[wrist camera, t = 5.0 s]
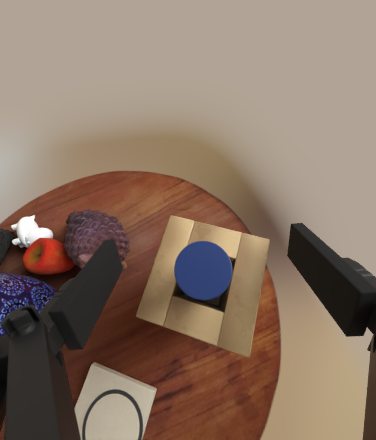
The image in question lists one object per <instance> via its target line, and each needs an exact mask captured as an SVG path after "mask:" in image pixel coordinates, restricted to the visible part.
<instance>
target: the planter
mask: <svg viewBox="0 0 376 440" xmlns="http://www.w3.org/2000/svg"><path fill="white" fill-rule="evenodd" d="M55 293H56V291H55V289H54V288H53V287H52V286H50V285H49V284H48V283H46V282H44V281H42V280H39V279H36V278H32V277H28V276H23V275H18V274H10V273H3V272H0V325H1V322H2V320H3V319H4V318H5V317H6V316H7V315H8V314H10V313H11V312H12V311H14V310H16V309H18V308H20V307H22V306H25V305H34V306H35V308H36V309H37V311H38V313H40V311H41V310H42V309H43V308H44V307H45V305H46V304H47V303H48V302H49V301H50V299H51V298H53V296H54V295H55ZM4 335H7V334H6V332H5V331H4V330H3V328H2V327H1V326H0V337H1V336H4Z"/></svg>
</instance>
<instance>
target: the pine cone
mask: <svg viewBox="0 0 376 440" xmlns="http://www.w3.org/2000/svg"><path fill="white" fill-rule="evenodd" d="M66 223H67V224H68V225H67V226H66V232H67V233H66V234H65V236H64V238H65V244H64V248H65V250H66V251H67V256H68V258H70V259H71V260H72V261H73V263H74V264H75V265H78V266H79V267H80V268H81V269H82V268H83V267H84V266H85V264H86V263H87V262H88V260H89V259H90V258H91V257H92V255H93V254H94V253H95V252H96V250H97V249H98V248H99V247H100V245H101V244H102V243H103V241H104V240H109V239H115V243H116V246H117V249H118V253H119V256H120V259H121V263H122V266H123V269H122V270H124V269H126V268H127V264H126V263H125V262H123V261H122V260H124V259H125V257H126V253H127V252H128V251H129V244H128V243H129V240H128V239H127V237H126V232H125V231H124V229H123V227H122V225H121V223H119V222H118V220H117V218H116V217H114V216H111V217H109V216H108V215H107V214H106V213H102V212H100V211H98V210H95V211H92V210H89V209H88V210H85V211H82V212H79V211H74V212H73V213H70V215H69V218H68V219H67V220H66Z"/></svg>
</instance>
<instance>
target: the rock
mask: <svg viewBox="0 0 376 440" xmlns="http://www.w3.org/2000/svg"><path fill="white" fill-rule="evenodd" d="M14 235H15V234H14V232H11V231H9V230H4V229H0V264H1V263H2V261H3V259H4V256H5V254H6V253H7V250H8V247H9V246H10V244H11V240H12V239H13V238H14Z"/></svg>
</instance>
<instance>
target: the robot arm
mask: <svg viewBox="0 0 376 440" xmlns="http://www.w3.org/2000/svg"><path fill="white" fill-rule="evenodd" d="M287 256H288V257H289V259H290V260H291V261H292V263H293V264H294V266H295V267H296V268H297V270H298V271H299V272H300V274H301V275H302V276H303V278H304V279H305V281H306V282H307V283H308V285H309V286H310V287H311V289H312V290H313V291H314V293H315V294H316V296H317V297H318V298H319V300H320V301H321V302H322V304H323V305H324V306H325V308H326V309H327V310H328V312H329V313H330V315H331V316H332V317H333V319H334V320H335V321H336V322H337V324H338V326H339V327H340V328H341V330H342V331H343V332H344V334H345V335H346V336H363V335H364V333H365V331H366V328H367V327H368V329H369V330H370V331H371V332H372V333H373V334H374V335H373V337H372V340H371V342H370V345H369V347H368V351H371V353H370V365H369V375H368V387H367V398H366V409H365V421H364V432H363V440H376V277H375V276H373V275H372V274H371V273H370V272H368V271H366V269H365V268H364V267H363V266H361V265H360V264H359V263H357V262H355V261H353V260H351V259H349V258H341V257H340V256H339V255H338V254H337V253H335V252H334V251H333V250H332V249H331V248H330V247H329V246H327V245H326V244H325V243H324V242H323V241H322V240H321V239H320V238H318V237H317V236H316V235H315V234H314V233H313V232H312V231H310V230H309V229H308V228H307V227H306V226H305V225H304V224H303V223H297V224H291V229H290V238H289V246H288V255H287ZM122 269H123V266H122V263H121V259H120V256H119V253H118V249H117V246H116V243H115V239H109V240H104V241H103V243H102V244H101V245H100V247H99V248H98V249H97V250H96V252H95V253H94V254H93V255H92V257H91V258H90V259H89V260H88V262H87V263H86V264H85V266H84V267H83V268H82V269H81V271H80V272H79V273H78V274H77V276H76V277H75V278H71V279H69V280H68V281H67V282H65V283H64V284H63V285H62V286H61V287H60V289H59V290H58V291H57V292H56V293H55V295H54V296H53V298H51V299H50V301H49V302H48V303H47V304H46V305H45V307H44V308H43V309H42V310H41V311H40V313H38V311H37V309H36V308H35V306H34V305H25V306H22V307H20V308H18V309H16V310H14V311H12V312H11V313H10V314H8V315H7V316H6V317H5V318H4V319H3V320H2V322H1V325H0V326H1V327H2V328H3V330H4V331H5V332H6V334H7V335H4V336H1V337H0V431H1V428H2V425H3V421H4V418H5V415H6V418H5V439H4V440H81V437H80V432H79V428H78V423H77V418H76V414H75V409H74V405H73V400H72V395H71V391H70V386H69V381H68V377H67V372H66V368H65V363H64V358H63V354H62V352H61V350H60V349H61V348H62V346H63V344H64V343H65V344H66V346H67V348H68V349H69V350H75V349H83V348H84V346H85V344H86V342H87V340H88V338H89V336H90V334H91V332H92V330H93V328H94V326H95V324H96V322H97V320H98V318H99V316H100V314H101V312H102V309H103V307H104V305H105V303H106V301H107V299H108V297H109V295H110V293H111V291H112V289H113V287H114V285H115V283H116V281H117V279H118V277H119V275H120V273H121V271H122Z"/></svg>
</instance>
